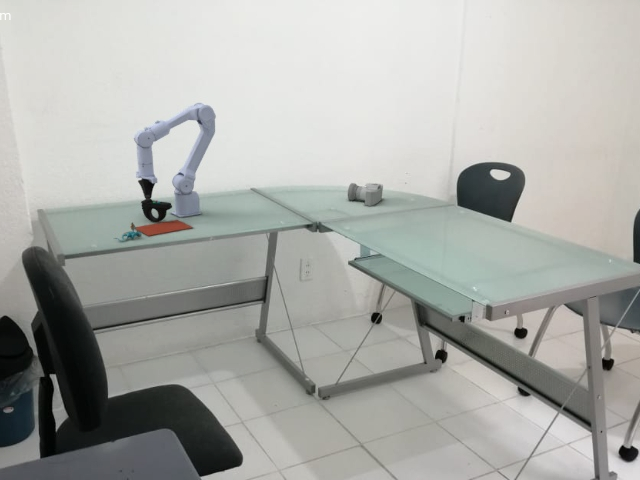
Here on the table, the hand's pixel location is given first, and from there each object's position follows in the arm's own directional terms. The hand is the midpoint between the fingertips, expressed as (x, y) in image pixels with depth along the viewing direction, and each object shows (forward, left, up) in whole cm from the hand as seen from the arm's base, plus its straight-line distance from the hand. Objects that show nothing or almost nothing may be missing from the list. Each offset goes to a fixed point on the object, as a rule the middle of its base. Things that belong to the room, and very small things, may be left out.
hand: (148, 198), depth 236 cm
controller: (0, +7, -8) cm, 11 cm away
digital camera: (-92, +28, -8) cm, 96 cm away
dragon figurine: (+18, +21, -8) cm, 29 cm away
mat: (+2, +16, -8) cm, 18 cm away
